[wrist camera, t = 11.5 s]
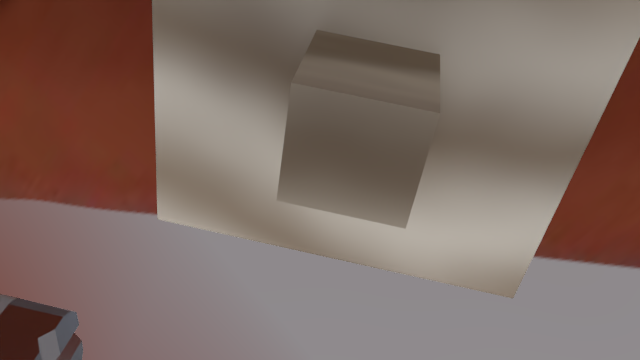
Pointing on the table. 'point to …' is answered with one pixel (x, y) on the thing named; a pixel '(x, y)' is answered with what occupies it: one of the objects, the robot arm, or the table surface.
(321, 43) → the birch lid
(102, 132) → the table surface
